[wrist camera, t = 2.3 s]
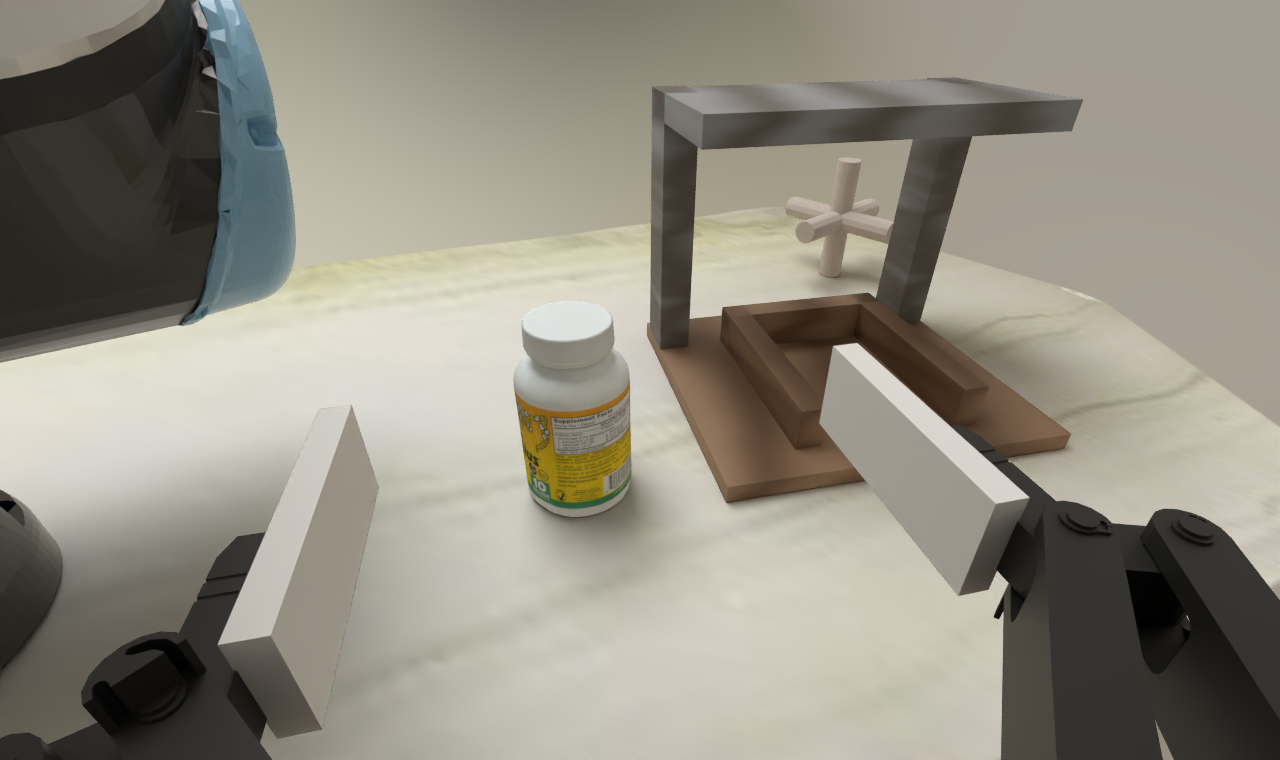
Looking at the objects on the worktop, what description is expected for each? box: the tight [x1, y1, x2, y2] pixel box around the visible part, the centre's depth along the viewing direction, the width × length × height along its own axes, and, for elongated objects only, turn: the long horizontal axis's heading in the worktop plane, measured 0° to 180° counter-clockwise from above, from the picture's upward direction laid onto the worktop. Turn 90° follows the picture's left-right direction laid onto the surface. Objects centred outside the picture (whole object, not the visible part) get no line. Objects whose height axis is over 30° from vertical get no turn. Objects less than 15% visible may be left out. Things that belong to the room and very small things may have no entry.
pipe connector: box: [786, 158, 894, 277], centre depth 52 cm, size 10×10×10 cm
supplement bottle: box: [514, 301, 631, 517], centre depth 29 cm, size 5×5×10 cm
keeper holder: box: [647, 78, 1083, 502], centre depth 34 cm, size 20×18×17 cm
